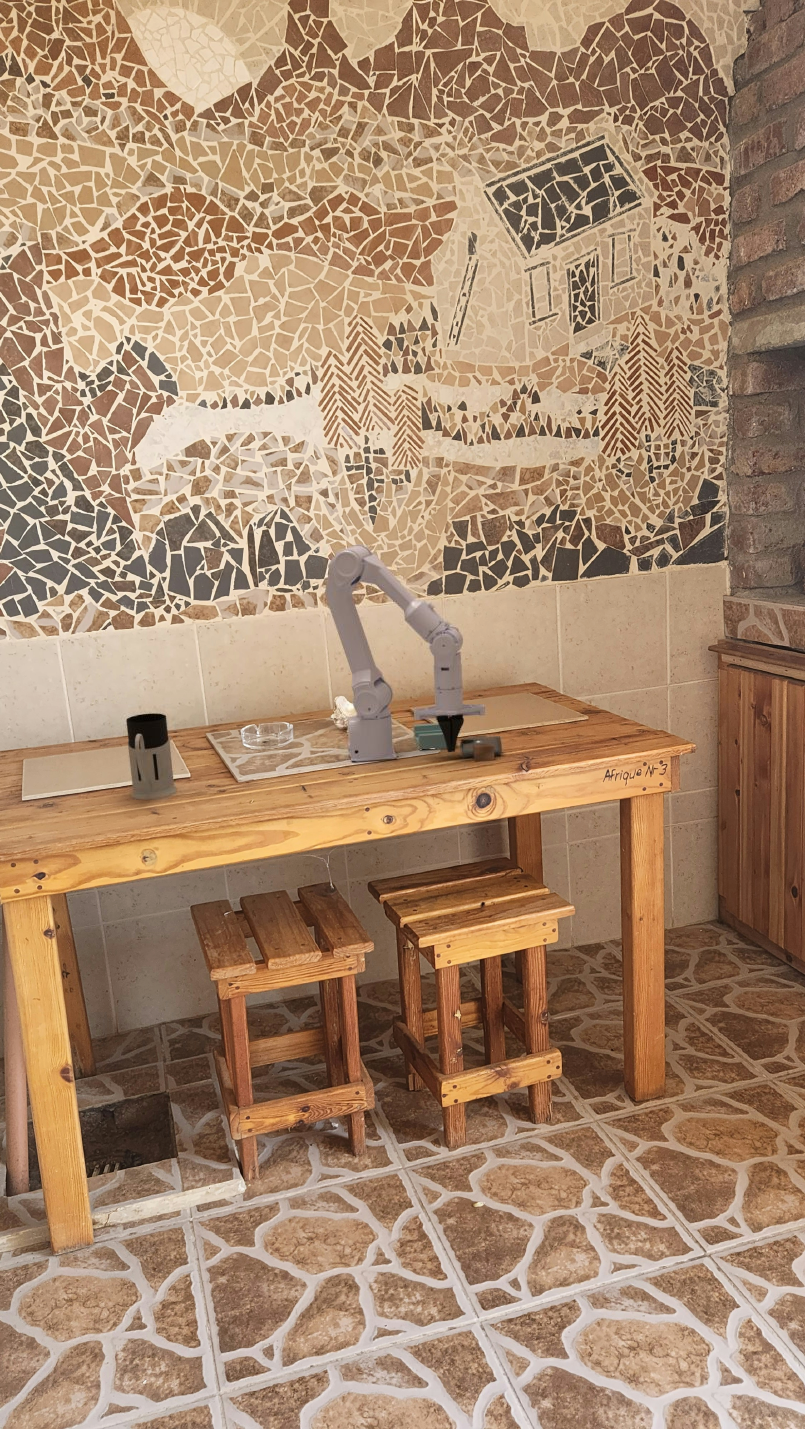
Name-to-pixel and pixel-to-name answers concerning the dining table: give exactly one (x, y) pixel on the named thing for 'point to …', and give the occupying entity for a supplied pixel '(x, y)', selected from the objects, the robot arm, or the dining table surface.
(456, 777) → the dining table surface
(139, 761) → the glass holder
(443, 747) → the v block
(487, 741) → the axle
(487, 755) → the block
